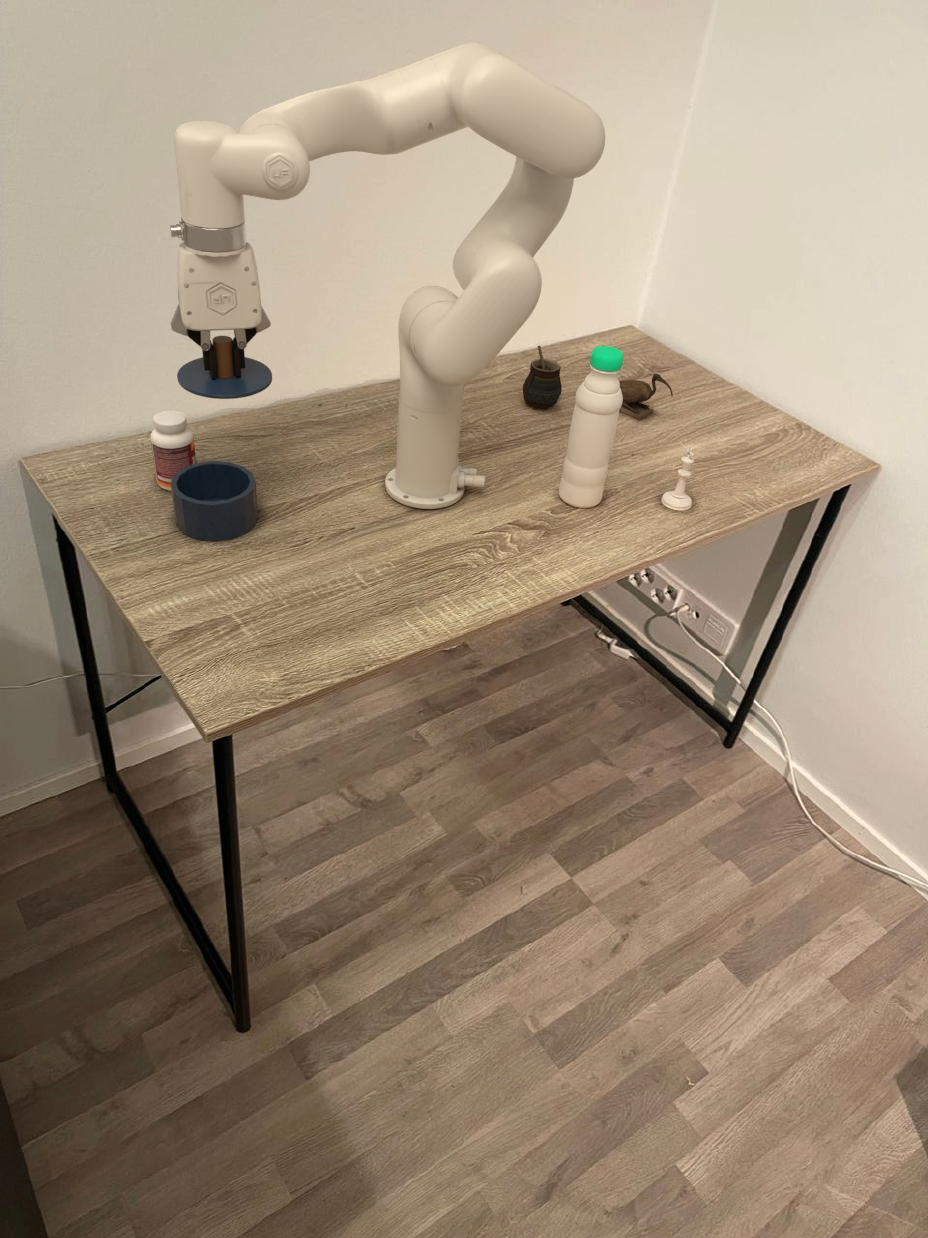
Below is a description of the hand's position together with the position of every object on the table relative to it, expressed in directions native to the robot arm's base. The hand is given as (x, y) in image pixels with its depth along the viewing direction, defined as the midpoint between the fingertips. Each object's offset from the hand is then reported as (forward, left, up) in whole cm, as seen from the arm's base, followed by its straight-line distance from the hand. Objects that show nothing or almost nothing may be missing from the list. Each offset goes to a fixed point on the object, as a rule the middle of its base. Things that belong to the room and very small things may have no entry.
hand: (225, 372), depth 127 cm
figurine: (-66, -42, -21) cm, 81 cm away
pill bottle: (+10, -5, -21) cm, 24 cm away
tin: (+2, +4, -21) cm, 22 cm away
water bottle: (-53, -10, -21) cm, 58 cm away
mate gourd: (-48, -42, -21) cm, 67 cm away
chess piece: (-69, -11, -21) cm, 73 cm away
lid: (0, 0, -1) cm, 1 cm away
